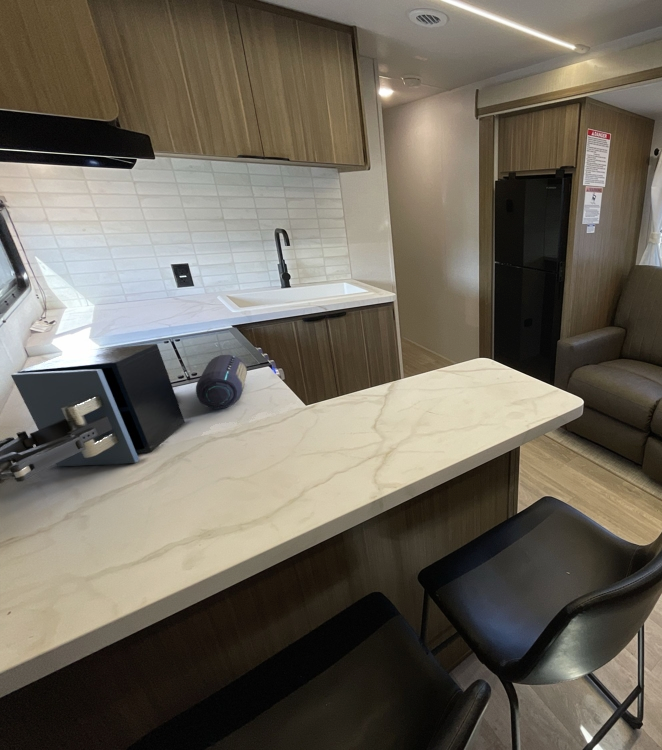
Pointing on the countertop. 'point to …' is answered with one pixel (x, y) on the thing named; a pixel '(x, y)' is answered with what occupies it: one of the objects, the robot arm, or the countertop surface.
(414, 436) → the countertop surface
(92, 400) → the freezer door
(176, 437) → the countertop surface
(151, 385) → the box
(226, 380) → the portable speaker
